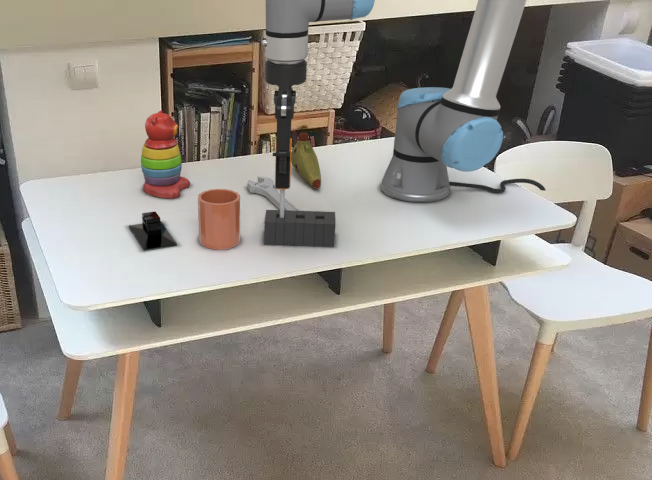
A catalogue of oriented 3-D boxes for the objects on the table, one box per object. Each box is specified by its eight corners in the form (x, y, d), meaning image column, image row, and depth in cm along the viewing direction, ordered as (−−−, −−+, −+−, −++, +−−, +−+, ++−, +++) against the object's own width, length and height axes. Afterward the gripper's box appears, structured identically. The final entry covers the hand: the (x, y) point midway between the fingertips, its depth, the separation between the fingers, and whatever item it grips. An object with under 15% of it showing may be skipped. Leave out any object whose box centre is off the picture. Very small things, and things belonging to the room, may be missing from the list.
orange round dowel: (289, 214, 154) (292, 136, 145) (289, 220, 151) (291, 141, 143) (274, 214, 154) (276, 136, 146) (273, 220, 152) (275, 141, 143)
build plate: (128, 227, 161) (126, 206, 158) (161, 222, 163) (160, 202, 160) (143, 251, 151) (141, 229, 148) (178, 245, 153) (177, 224, 150)
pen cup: (241, 233, 158) (241, 189, 152) (237, 250, 151) (238, 205, 146) (202, 231, 158) (201, 188, 153) (196, 248, 151) (195, 203, 146)
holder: (333, 234, 156) (335, 211, 154) (333, 247, 151) (335, 223, 149) (265, 232, 158) (266, 209, 155) (263, 244, 153) (264, 221, 150)
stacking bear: (176, 200, 173) (172, 122, 164) (135, 195, 176) (129, 118, 166) (192, 183, 182) (190, 108, 172) (153, 179, 185) (148, 105, 175)
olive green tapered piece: (329, 192, 176) (332, 150, 171) (307, 194, 175) (309, 152, 170) (305, 163, 193) (306, 124, 188) (284, 165, 192) (285, 125, 187)
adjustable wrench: (308, 223, 162) (308, 215, 161) (279, 227, 160) (279, 219, 159) (268, 182, 182) (268, 175, 181) (242, 185, 180) (242, 178, 179)
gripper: (267, 49, 144) (265, 169, 156) (262, 70, 130) (260, 199, 143) (307, 49, 143) (302, 170, 155) (306, 70, 129) (301, 200, 142)
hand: (282, 184), depth 149 cm, fingers closed on orange round dowel, 3 cm apart
